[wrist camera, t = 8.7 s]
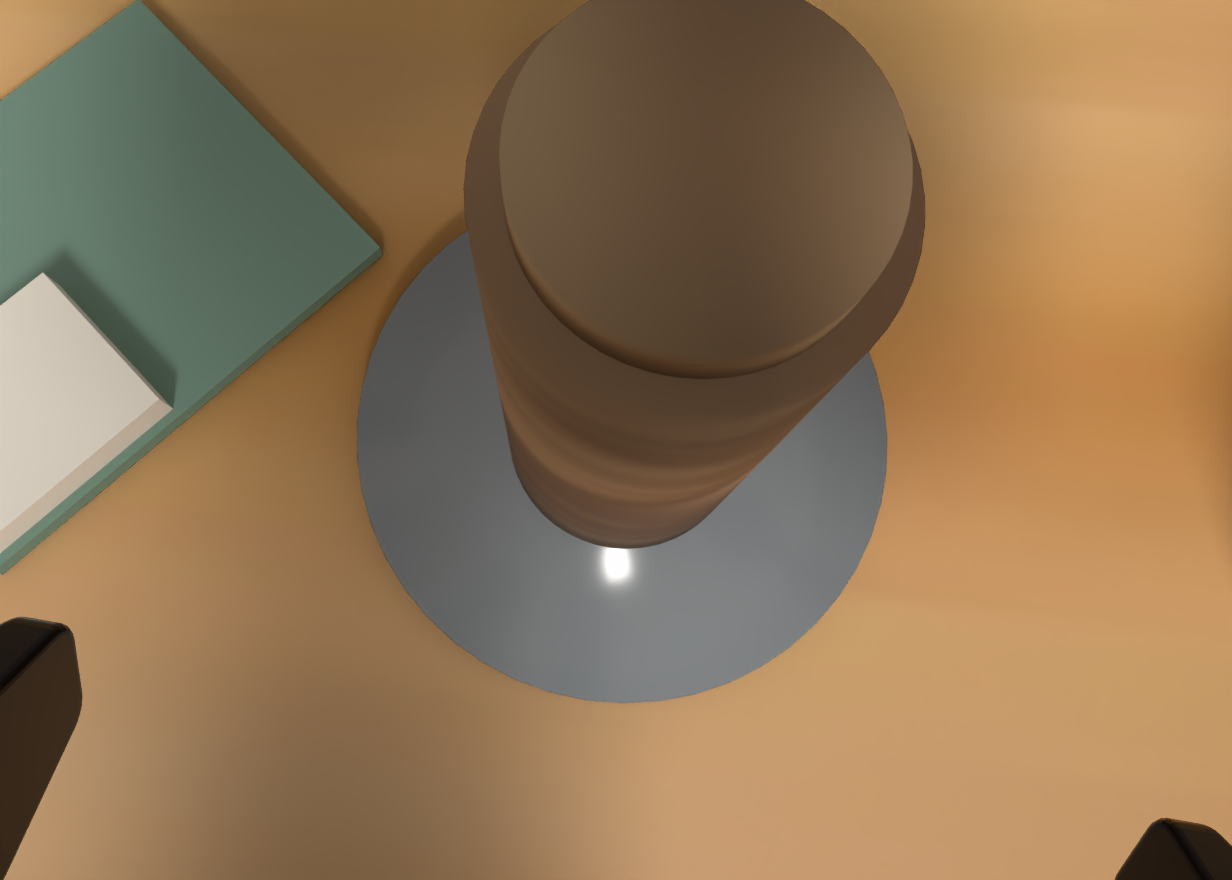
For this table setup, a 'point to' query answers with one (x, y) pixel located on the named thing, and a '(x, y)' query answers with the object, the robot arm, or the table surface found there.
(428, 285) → the trivet
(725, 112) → the pepper mill
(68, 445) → the mat
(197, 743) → the table surface
